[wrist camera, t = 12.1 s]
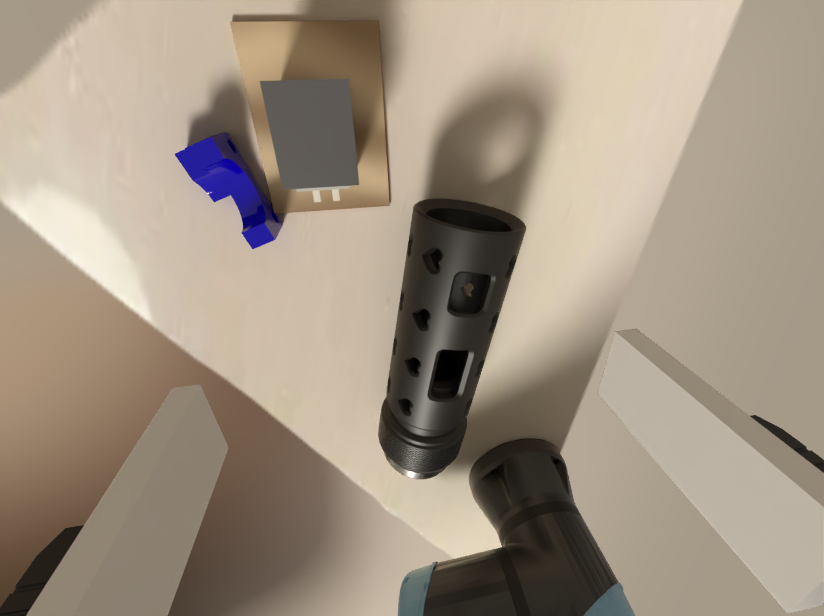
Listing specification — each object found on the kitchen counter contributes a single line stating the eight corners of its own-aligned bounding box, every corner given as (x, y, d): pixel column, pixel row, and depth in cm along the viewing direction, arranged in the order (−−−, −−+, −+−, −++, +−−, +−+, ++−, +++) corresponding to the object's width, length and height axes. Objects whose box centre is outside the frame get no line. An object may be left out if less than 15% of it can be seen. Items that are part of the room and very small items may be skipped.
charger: (359, 186, 30) (361, 208, 25) (299, 190, 30) (287, 214, 24) (348, 81, 27) (348, 78, 21) (279, 83, 26) (259, 81, 20)
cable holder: (187, 149, 28) (165, 157, 24) (227, 131, 28) (210, 136, 24) (247, 239, 32) (235, 256, 29) (282, 224, 32) (275, 239, 28)
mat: (389, 204, 32) (389, 205, 32) (275, 212, 31) (274, 213, 31) (378, 21, 25) (378, 20, 25) (231, 22, 24) (229, 21, 24)
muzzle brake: (500, 202, 34) (553, 240, 25) (444, 411, 48) (466, 483, 39) (401, 190, 32) (421, 227, 23) (373, 412, 46) (379, 488, 37)
